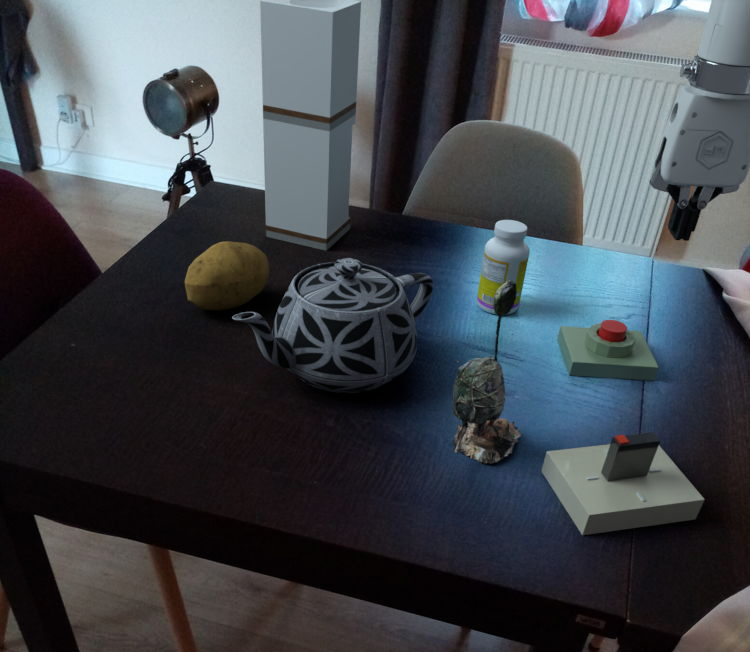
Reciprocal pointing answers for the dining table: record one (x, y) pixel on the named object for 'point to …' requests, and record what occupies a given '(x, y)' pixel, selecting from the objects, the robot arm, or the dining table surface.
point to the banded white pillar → (308, 117)
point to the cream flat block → (619, 491)
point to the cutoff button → (612, 331)
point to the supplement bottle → (503, 263)
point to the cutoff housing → (606, 354)
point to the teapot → (344, 326)
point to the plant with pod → (485, 398)
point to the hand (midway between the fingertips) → (678, 236)
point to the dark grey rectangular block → (630, 456)
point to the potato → (226, 276)
